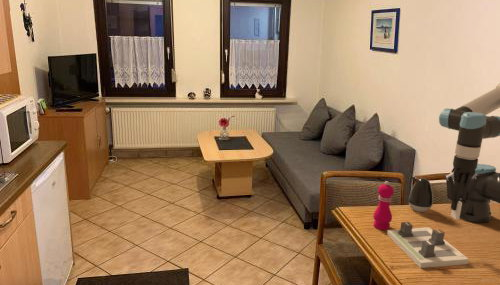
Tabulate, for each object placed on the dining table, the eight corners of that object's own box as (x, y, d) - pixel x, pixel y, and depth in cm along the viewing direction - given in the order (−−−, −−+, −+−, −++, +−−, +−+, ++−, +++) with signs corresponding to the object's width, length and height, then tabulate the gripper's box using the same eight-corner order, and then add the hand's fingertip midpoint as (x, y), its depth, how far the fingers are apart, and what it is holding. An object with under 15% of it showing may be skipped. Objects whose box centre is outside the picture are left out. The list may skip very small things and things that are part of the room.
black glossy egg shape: (412, 202, 186) (417, 172, 182) (435, 210, 179) (440, 178, 175) (402, 209, 179) (407, 177, 175) (425, 216, 172) (430, 184, 168)
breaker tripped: (439, 239, 149) (441, 228, 148) (444, 244, 146) (446, 232, 145) (428, 240, 148) (430, 229, 147) (433, 244, 145) (435, 233, 144)
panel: (428, 231, 159) (429, 226, 159) (467, 264, 137) (468, 258, 137) (386, 234, 156) (387, 229, 156) (420, 268, 134) (421, 262, 134)
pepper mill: (391, 231, 158) (398, 185, 153) (373, 229, 160) (378, 183, 154) (389, 223, 165) (395, 178, 160) (371, 221, 167) (376, 177, 161)
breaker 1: (408, 231, 154) (410, 221, 153) (413, 236, 151) (414, 225, 150) (398, 232, 153) (399, 221, 152) (402, 236, 150) (403, 225, 149)
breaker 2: (429, 251, 141) (431, 239, 140) (435, 256, 138) (437, 244, 137) (418, 252, 140) (420, 240, 139) (423, 257, 137) (425, 245, 136)
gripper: (475, 153, 143) (463, 212, 150) (442, 153, 141) (432, 213, 148) (490, 159, 136) (477, 221, 143) (456, 160, 134) (445, 223, 140)
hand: (454, 217), depth 145 cm, fingers closed
